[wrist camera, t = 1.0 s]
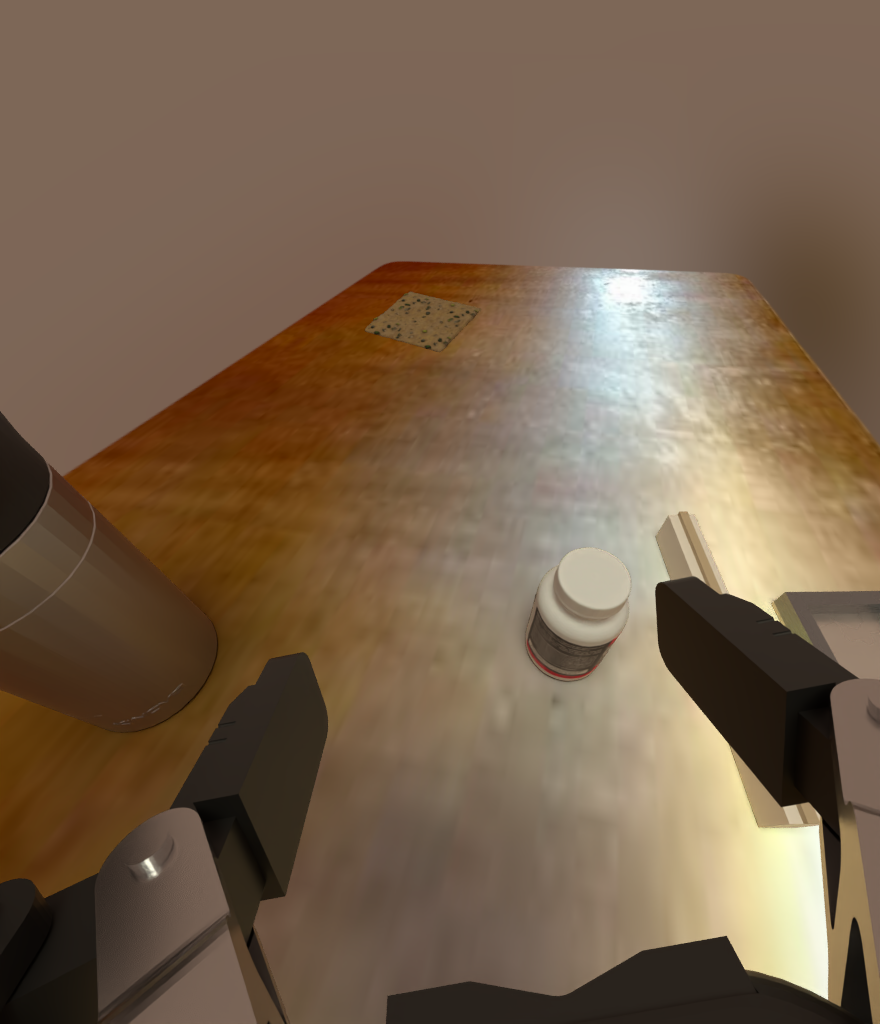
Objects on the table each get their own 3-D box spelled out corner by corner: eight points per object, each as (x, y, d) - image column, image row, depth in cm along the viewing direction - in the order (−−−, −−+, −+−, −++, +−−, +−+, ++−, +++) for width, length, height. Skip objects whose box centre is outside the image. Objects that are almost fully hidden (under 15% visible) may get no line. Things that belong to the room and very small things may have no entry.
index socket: (986, 734, 28) (1014, 727, 26) (836, 735, 28) (856, 728, 26) (895, 602, 33) (914, 590, 32) (771, 603, 33) (785, 592, 32)
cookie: (482, 311, 62) (483, 304, 62) (440, 355, 56) (440, 348, 55) (410, 294, 66) (409, 287, 66) (363, 334, 60) (362, 327, 59)
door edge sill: (795, 827, 25) (834, 823, 22) (758, 827, 25) (794, 823, 22) (679, 536, 37) (696, 511, 35) (655, 536, 38) (670, 511, 35)
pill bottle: (607, 684, 30) (656, 624, 23) (527, 681, 31) (549, 621, 23) (593, 610, 34) (632, 536, 26) (522, 609, 34) (539, 535, 26)
